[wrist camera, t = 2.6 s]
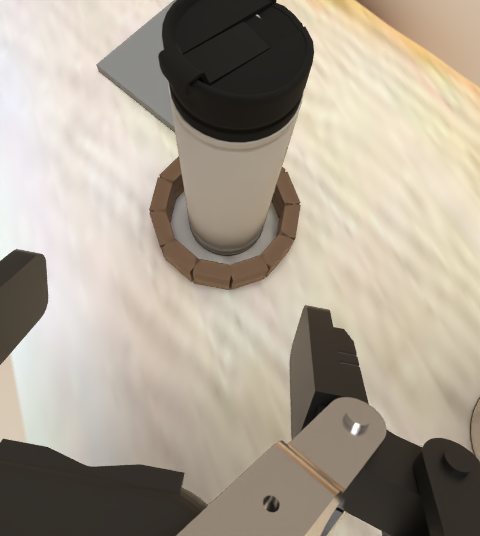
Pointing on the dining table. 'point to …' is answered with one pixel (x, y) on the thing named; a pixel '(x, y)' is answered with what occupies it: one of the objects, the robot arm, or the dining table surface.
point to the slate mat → (142, 69)
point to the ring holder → (216, 272)
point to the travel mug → (233, 109)
